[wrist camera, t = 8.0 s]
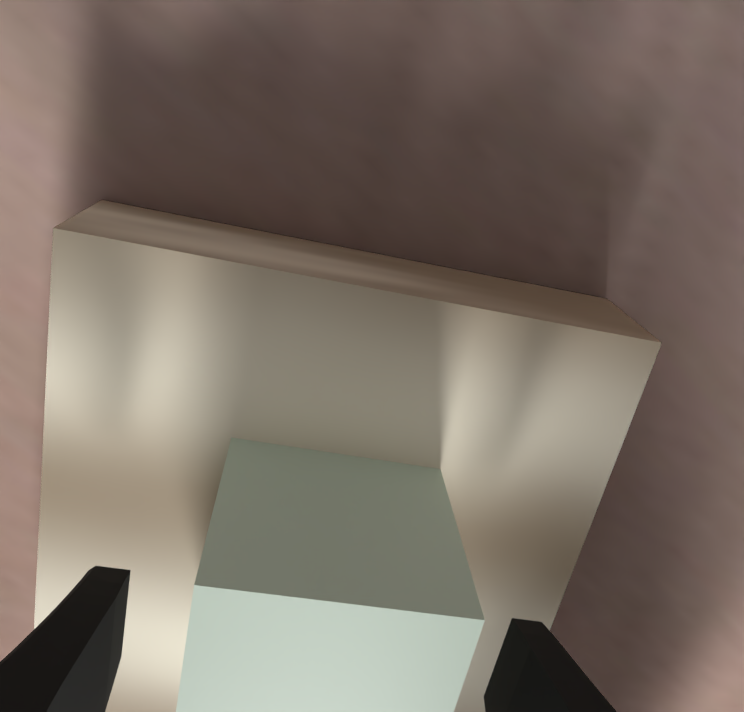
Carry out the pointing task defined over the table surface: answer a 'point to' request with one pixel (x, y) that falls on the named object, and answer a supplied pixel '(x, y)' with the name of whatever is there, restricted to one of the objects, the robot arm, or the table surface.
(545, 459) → the birch block
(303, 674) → the green cube
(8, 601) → the table surface
